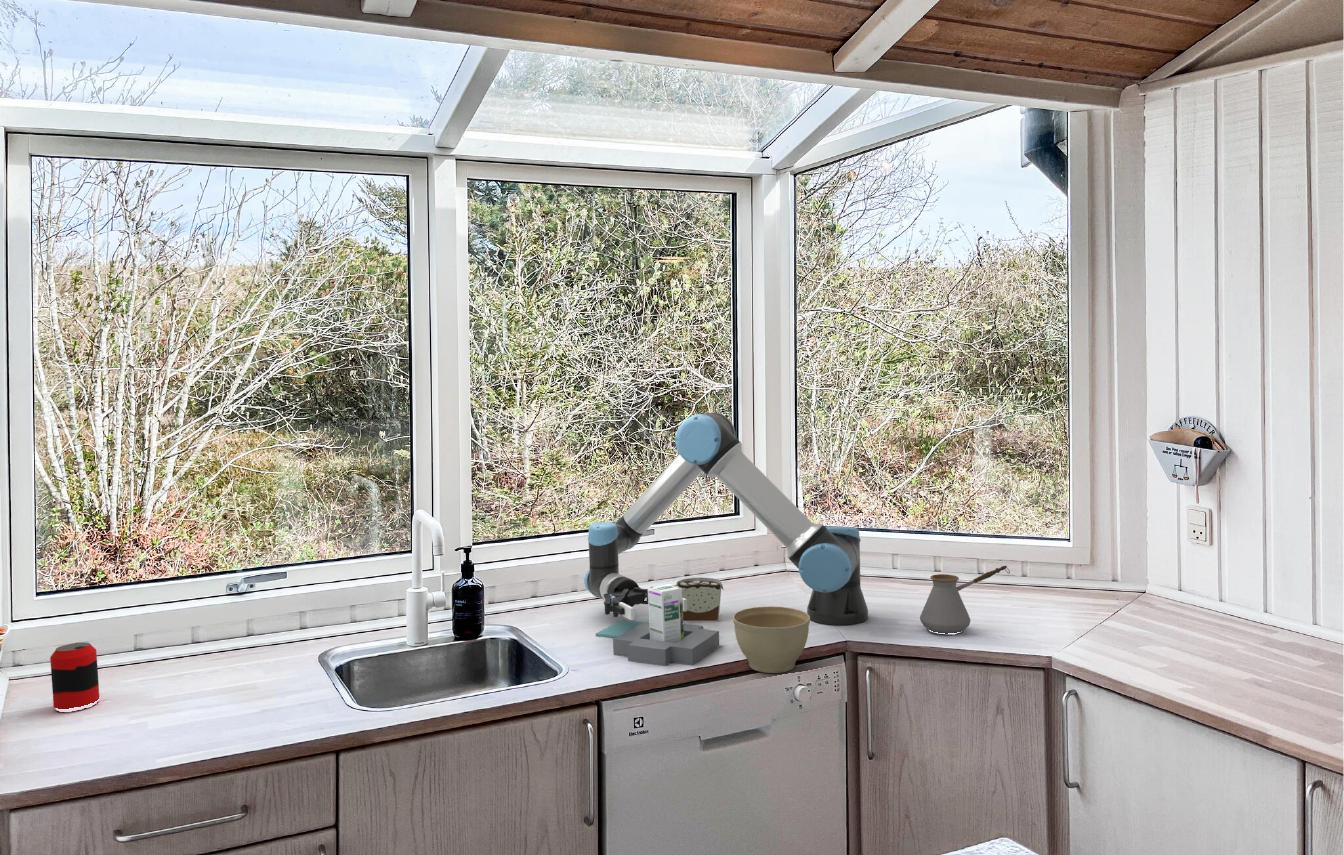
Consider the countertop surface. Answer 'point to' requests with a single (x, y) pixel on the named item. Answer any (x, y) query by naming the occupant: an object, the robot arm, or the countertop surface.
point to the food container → (701, 599)
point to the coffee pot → (948, 604)
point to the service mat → (618, 628)
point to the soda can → (74, 675)
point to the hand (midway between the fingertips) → (659, 609)
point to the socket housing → (666, 645)
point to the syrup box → (666, 613)
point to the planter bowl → (771, 637)
